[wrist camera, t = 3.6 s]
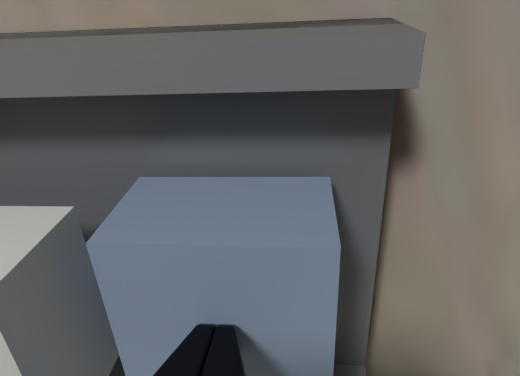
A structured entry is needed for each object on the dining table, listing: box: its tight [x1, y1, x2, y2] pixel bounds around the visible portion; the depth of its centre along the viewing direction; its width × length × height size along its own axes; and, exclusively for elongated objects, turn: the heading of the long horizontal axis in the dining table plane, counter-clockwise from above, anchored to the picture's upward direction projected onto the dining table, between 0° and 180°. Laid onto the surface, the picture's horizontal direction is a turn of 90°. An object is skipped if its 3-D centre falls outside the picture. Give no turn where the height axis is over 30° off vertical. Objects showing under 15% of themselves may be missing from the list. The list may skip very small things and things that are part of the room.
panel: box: [0, 18, 426, 376], centre depth 12 cm, size 20×12×3 cm, turn 92°
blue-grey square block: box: [86, 177, 341, 376], centre depth 10 cm, size 5×5×3 cm
